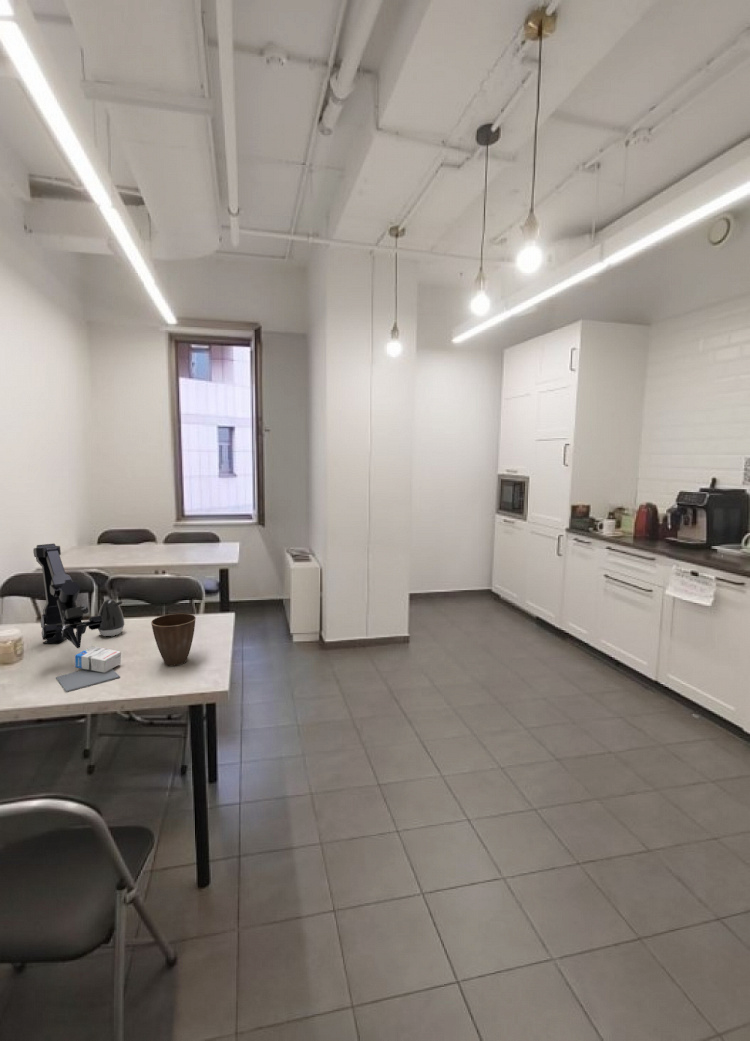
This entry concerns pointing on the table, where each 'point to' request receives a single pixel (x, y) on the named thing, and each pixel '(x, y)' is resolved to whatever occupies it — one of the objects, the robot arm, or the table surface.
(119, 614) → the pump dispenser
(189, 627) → the plant pot
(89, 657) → the ink box
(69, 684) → the mat
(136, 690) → the table surface
